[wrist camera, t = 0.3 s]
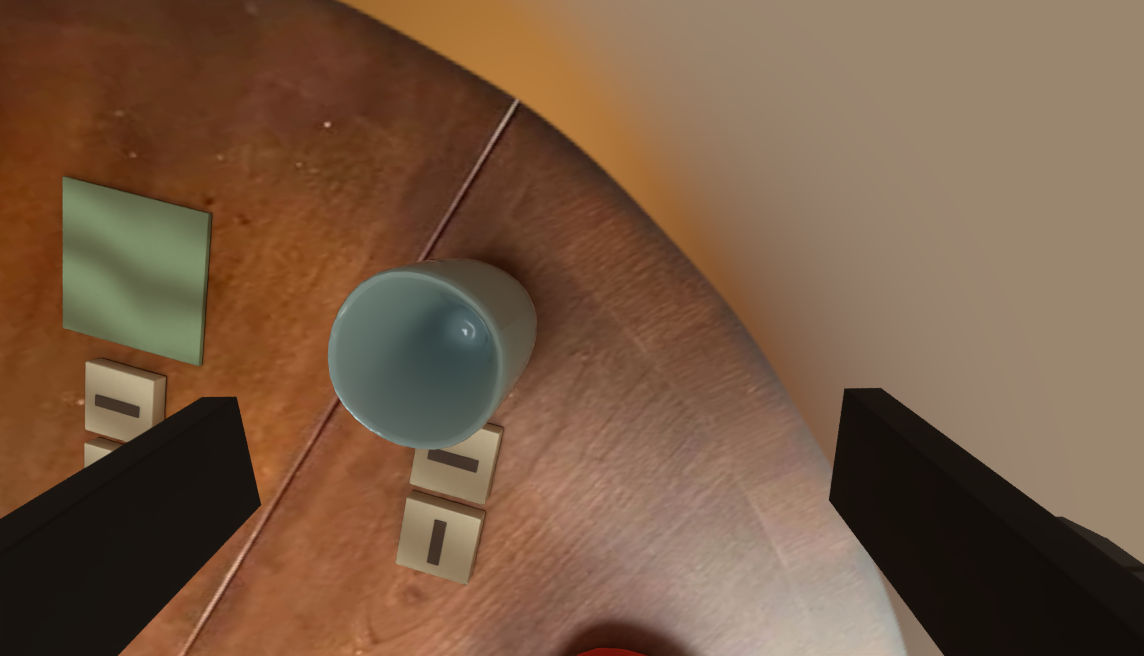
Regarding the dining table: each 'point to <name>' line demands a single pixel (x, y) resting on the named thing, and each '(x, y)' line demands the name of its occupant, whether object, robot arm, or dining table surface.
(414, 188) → the dining table surface
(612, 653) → the tomato
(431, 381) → the cup
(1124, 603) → the robot arm
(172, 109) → the dining table surface
